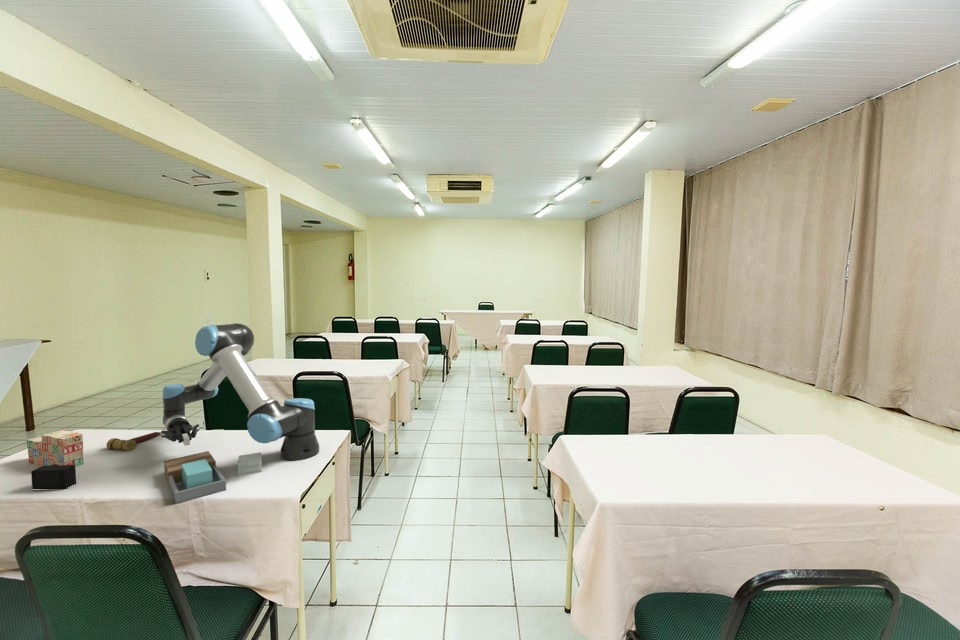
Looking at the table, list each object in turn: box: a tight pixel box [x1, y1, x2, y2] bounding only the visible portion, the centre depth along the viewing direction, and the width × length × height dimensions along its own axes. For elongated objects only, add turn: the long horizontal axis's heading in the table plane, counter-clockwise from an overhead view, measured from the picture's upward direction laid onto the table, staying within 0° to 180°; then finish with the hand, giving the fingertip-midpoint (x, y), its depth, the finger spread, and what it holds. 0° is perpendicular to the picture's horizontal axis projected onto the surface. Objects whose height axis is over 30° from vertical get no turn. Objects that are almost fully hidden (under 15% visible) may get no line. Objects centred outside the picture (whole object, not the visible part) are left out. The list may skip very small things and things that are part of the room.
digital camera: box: [30, 464, 77, 490], centre depth 142 cm, size 10×5×7 cm, turn 95°
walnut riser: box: [163, 450, 217, 486], centre depth 153 cm, size 13×14×5 cm
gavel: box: [106, 431, 161, 452], centre depth 183 cm, size 21×5×10 cm
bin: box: [168, 464, 227, 505], centre depth 142 cm, size 16×14×4 cm
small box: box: [237, 452, 263, 476], centre depth 157 cm, size 8×8×5 cm
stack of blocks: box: [26, 429, 84, 468], centre depth 160 cm, size 21×6×12 cm, turn 73°
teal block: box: [182, 459, 213, 490], centre depth 142 cm, size 7×7×12 cm
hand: (187, 441), depth 155 cm, fingers closed
